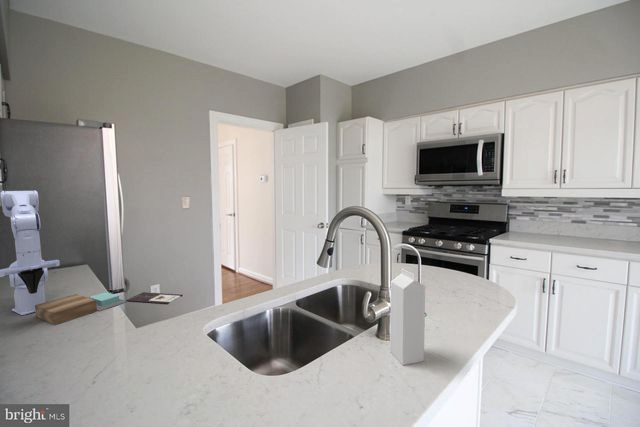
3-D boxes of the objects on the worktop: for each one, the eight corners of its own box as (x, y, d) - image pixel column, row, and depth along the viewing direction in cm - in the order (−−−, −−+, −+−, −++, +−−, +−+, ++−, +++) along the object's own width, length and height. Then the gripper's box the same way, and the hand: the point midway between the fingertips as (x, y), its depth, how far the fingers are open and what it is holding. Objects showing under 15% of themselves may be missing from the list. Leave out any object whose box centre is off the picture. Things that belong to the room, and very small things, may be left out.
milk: (402, 365, 72) (403, 275, 70) (389, 352, 78) (390, 268, 76) (424, 361, 74) (425, 273, 72) (410, 348, 80) (411, 266, 78)
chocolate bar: (143, 292, 125) (182, 294, 121) (143, 294, 125) (182, 297, 121) (125, 300, 116) (167, 303, 112) (125, 302, 116) (167, 305, 113)
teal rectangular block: (106, 292, 120) (106, 296, 120) (88, 297, 115) (89, 302, 115) (118, 295, 116) (119, 300, 116) (101, 301, 111) (101, 306, 111)
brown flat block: (36, 316, 103) (34, 305, 103) (77, 304, 114) (76, 294, 114) (54, 325, 97) (53, 312, 96) (97, 311, 107) (96, 300, 107)
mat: (77, 303, 115) (77, 302, 115) (105, 295, 123) (105, 294, 123) (99, 311, 107) (99, 310, 107) (127, 302, 115) (127, 301, 115)
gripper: (1, 257, 88) (6, 302, 90) (62, 248, 101) (66, 287, 102) (-8, 255, 92) (-3, 298, 93) (52, 246, 104) (56, 284, 106)
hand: (32, 292), depth 98 cm, fingers closed
